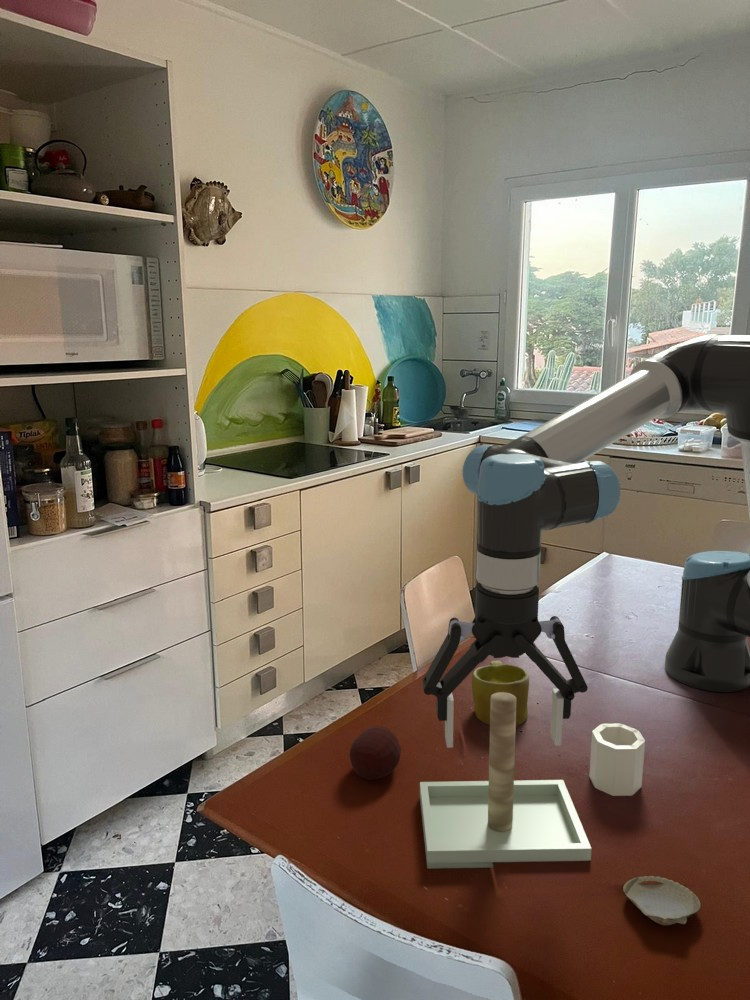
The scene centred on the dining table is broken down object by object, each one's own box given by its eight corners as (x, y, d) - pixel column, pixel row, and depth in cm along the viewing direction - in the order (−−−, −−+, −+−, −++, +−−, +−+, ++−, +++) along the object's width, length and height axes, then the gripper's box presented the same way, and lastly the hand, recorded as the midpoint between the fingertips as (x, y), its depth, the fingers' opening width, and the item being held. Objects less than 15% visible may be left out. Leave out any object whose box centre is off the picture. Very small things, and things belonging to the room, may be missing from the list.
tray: (562, 795, 108) (563, 779, 107) (590, 865, 94) (591, 848, 93) (419, 797, 107) (419, 781, 107) (427, 868, 94) (427, 851, 93)
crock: (630, 772, 113) (634, 723, 111) (645, 800, 106) (650, 748, 104) (585, 772, 113) (588, 723, 111) (598, 800, 106) (601, 749, 104)
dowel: (510, 816, 102) (513, 691, 98) (514, 831, 99) (518, 704, 95) (486, 816, 102) (488, 692, 98) (489, 832, 99) (492, 704, 95)
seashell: (690, 909, 90) (622, 876, 92) (700, 886, 89) (631, 854, 92) (692, 952, 82) (618, 915, 85) (702, 927, 82) (627, 891, 84)
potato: (340, 784, 111) (339, 746, 109) (365, 747, 120) (365, 711, 119) (388, 794, 108) (388, 755, 107) (410, 756, 118) (410, 719, 116)
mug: (538, 729, 121) (521, 667, 121) (476, 740, 124) (459, 680, 124) (542, 705, 133) (527, 649, 133) (485, 716, 136) (470, 661, 136)
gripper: (601, 571, 96) (591, 723, 101) (402, 574, 96) (402, 726, 101) (620, 593, 89) (609, 756, 94) (405, 596, 89) (405, 759, 94)
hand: (502, 741), depth 98 cm, fingers open, 13 cm apart
